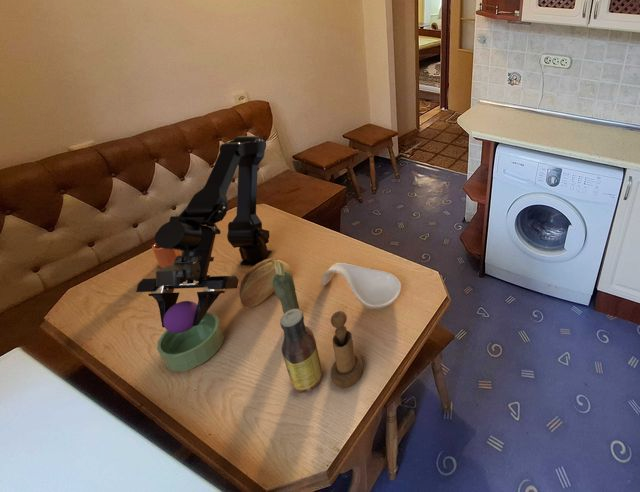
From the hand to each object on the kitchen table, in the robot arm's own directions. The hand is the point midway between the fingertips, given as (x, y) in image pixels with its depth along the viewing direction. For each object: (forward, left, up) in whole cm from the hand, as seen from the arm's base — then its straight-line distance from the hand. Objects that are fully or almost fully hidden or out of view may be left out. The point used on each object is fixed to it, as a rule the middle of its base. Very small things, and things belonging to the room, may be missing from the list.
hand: (180, 326), depth 78 cm
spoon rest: (-33, -20, -9) cm, 40 cm away
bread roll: (-7, -19, -9) cm, 23 cm away
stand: (+28, -28, -9) cm, 41 cm away
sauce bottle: (-29, +5, -9) cm, 31 cm away
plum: (0, -1, +1) cm, 2 cm away
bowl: (0, -1, -9) cm, 9 cm away
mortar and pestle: (-37, +3, -9) cm, 38 cm away
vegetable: (-19, -9, -9) cm, 23 cm away
